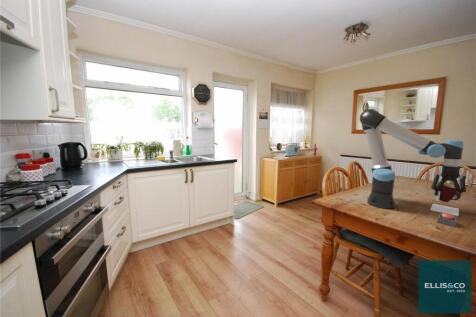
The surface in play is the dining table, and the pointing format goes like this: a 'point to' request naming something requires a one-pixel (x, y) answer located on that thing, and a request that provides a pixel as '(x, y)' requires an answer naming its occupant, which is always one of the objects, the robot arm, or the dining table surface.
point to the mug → (448, 193)
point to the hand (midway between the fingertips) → (446, 201)
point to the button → (447, 216)
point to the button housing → (447, 221)
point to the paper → (445, 209)
